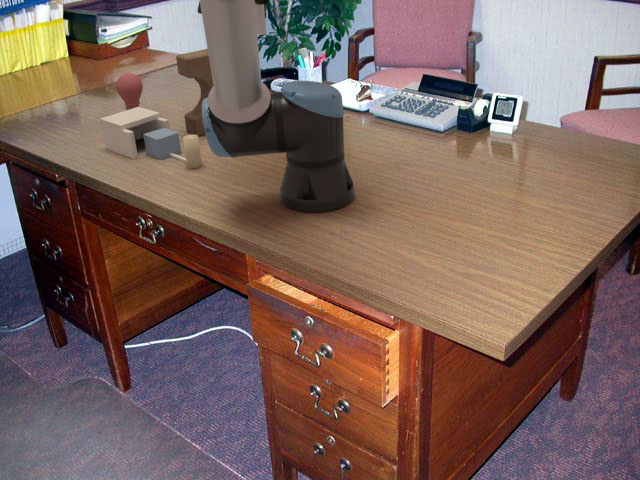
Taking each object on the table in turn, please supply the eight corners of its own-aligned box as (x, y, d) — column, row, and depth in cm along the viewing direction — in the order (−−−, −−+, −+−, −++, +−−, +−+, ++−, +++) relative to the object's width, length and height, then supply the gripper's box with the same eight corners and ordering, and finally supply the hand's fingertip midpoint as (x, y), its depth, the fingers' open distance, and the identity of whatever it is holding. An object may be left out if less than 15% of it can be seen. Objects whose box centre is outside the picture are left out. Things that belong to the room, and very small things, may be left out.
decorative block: (196, 137, 181) (185, 58, 171) (185, 131, 185) (174, 55, 175) (233, 127, 187) (225, 50, 177) (222, 121, 191) (213, 47, 181)
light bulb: (141, 120, 195) (134, 77, 189) (117, 119, 196) (109, 77, 190) (151, 112, 201) (144, 70, 195) (127, 111, 202) (120, 70, 197)
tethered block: (146, 153, 172) (141, 126, 169) (167, 146, 176) (163, 119, 172) (188, 171, 161) (184, 142, 157) (209, 163, 164) (205, 135, 161)
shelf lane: (105, 148, 177) (99, 118, 173) (143, 135, 184) (138, 106, 180) (133, 158, 169) (128, 128, 166) (172, 144, 177) (167, 115, 173)
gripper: (257, -71, 157) (265, 27, 167) (171, -59, 140) (185, 50, 150) (283, -70, 152) (289, 30, 162) (197, -58, 135) (210, 54, 145)
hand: (239, 40), depth 156 cm, fingers open, 13 cm apart
